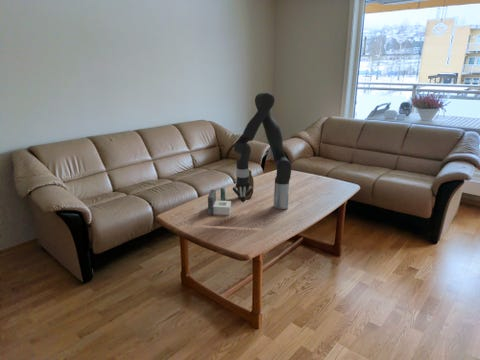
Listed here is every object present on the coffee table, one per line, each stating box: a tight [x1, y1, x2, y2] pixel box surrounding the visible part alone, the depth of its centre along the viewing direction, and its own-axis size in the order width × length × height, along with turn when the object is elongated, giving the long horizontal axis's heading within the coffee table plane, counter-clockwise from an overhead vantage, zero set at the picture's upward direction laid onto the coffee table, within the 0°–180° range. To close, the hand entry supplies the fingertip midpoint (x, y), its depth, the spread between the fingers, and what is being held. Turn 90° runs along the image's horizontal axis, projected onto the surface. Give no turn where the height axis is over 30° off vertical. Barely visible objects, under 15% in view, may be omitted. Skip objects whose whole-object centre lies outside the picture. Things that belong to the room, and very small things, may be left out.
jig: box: [207, 189, 217, 216], centre depth 213 cm, size 20×13×13 cm, turn 86°
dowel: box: [220, 187, 226, 201], centre depth 225 cm, size 3×3×12 cm
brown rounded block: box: [237, 169, 255, 200], centre depth 238 cm, size 11×8×20 cm
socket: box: [213, 200, 232, 216], centre depth 214 cm, size 10×10×5 cm
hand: (242, 201), depth 211 cm, fingers closed
